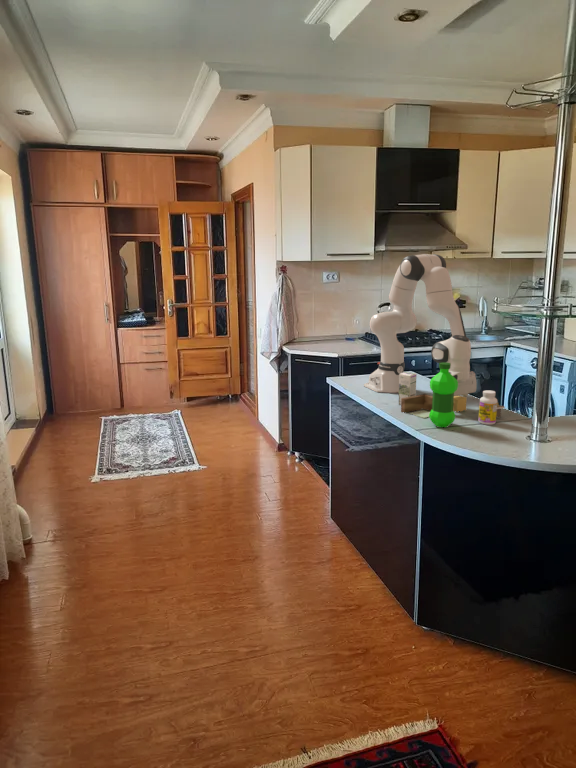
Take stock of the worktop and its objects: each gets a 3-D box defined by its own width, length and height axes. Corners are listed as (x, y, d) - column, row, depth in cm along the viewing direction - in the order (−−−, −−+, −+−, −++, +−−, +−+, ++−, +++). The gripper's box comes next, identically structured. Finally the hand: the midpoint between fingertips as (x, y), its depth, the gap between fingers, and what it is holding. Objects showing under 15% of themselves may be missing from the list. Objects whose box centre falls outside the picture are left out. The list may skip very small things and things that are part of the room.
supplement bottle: (474, 422, 224) (476, 391, 221) (484, 419, 228) (486, 388, 225) (489, 426, 219) (491, 394, 216) (499, 423, 223) (501, 391, 220)
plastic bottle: (444, 431, 214) (447, 367, 208) (422, 424, 223) (425, 363, 217) (460, 426, 220) (464, 363, 214) (439, 420, 228) (442, 359, 222)
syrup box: (416, 404, 252) (417, 373, 248) (409, 407, 247) (410, 375, 244) (404, 402, 255) (406, 371, 252) (397, 405, 251) (398, 373, 248)
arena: (400, 411, 241) (401, 398, 239) (423, 407, 247) (424, 393, 246) (427, 420, 228) (427, 406, 226) (450, 415, 234) (451, 401, 233)
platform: (463, 416, 234) (464, 401, 232) (499, 412, 239) (500, 397, 238) (481, 425, 223) (483, 409, 221) (519, 420, 228) (520, 404, 226)
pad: (410, 413, 237) (410, 413, 237) (423, 410, 241) (423, 410, 241) (423, 418, 231) (423, 417, 231) (437, 415, 235) (437, 414, 235)
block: (447, 409, 243) (447, 397, 242) (456, 407, 246) (456, 395, 245) (457, 412, 239) (457, 399, 238) (465, 410, 242) (466, 397, 240)
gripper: (469, 369, 247) (467, 399, 250) (436, 375, 236) (434, 406, 240) (481, 372, 241) (479, 402, 245) (447, 378, 231) (445, 410, 234)
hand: (456, 404), depth 242 cm, fingers closed on block, 5 cm apart
